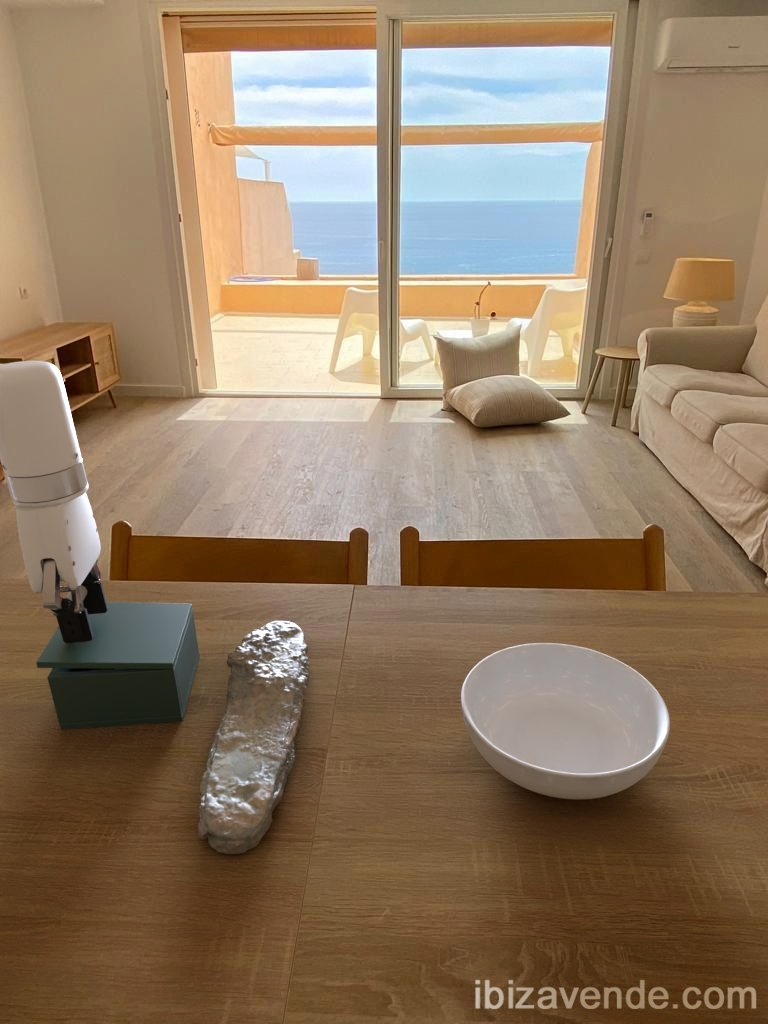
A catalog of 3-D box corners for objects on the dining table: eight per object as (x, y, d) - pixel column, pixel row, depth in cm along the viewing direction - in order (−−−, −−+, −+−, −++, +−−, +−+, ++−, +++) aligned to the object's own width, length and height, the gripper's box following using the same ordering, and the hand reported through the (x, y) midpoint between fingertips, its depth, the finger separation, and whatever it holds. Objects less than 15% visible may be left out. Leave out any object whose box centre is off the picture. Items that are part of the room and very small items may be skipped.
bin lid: (36, 668, 75) (30, 626, 73) (74, 606, 87) (69, 568, 84) (173, 669, 77) (170, 628, 75) (192, 608, 88) (190, 571, 86)
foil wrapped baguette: (175, 868, 64) (283, 871, 64) (169, 829, 61) (282, 833, 61) (244, 633, 95) (317, 636, 95) (242, 601, 92) (317, 604, 92)
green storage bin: (60, 729, 79) (47, 677, 76) (93, 662, 90) (82, 615, 87) (182, 721, 80) (173, 669, 77) (199, 656, 91) (192, 608, 88)
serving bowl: (497, 670, 88) (500, 624, 85) (673, 723, 78) (683, 673, 76) (427, 781, 71) (428, 729, 68) (640, 865, 62) (651, 808, 59)
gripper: (41, 457, 81) (77, 592, 88) (-25, 517, 65) (26, 674, 73) (106, 452, 81) (137, 586, 89) (56, 510, 66) (98, 667, 73)
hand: (86, 624), depth 81 cm, fingers closed on bin lid, 5 cm apart
